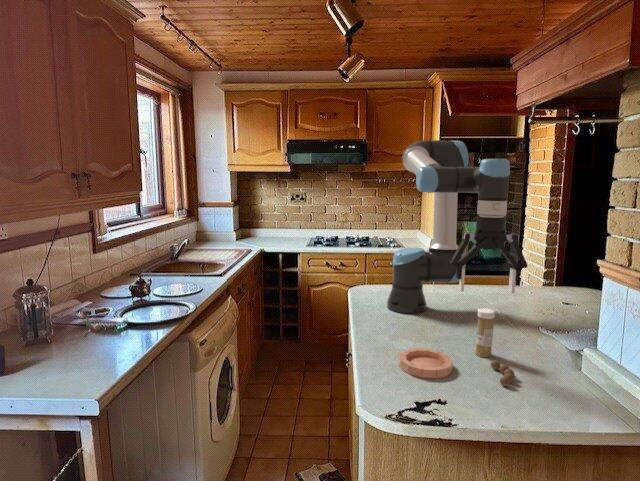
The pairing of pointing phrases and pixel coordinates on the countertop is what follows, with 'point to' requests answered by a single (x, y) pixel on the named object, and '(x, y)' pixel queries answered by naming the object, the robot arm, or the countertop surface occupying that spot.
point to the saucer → (425, 363)
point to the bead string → (506, 371)
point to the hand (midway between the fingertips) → (486, 291)
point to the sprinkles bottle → (484, 332)
